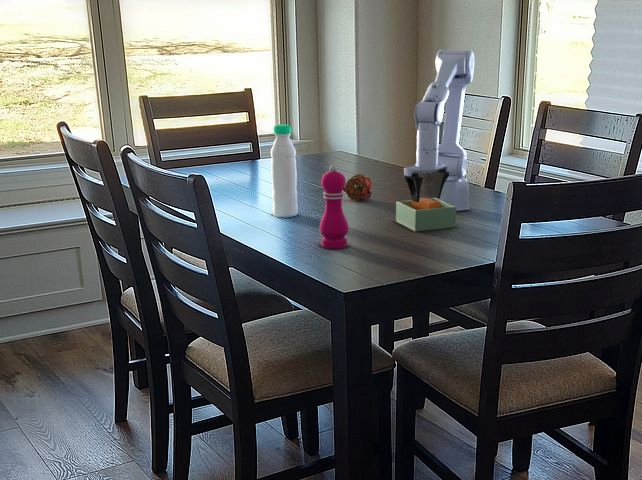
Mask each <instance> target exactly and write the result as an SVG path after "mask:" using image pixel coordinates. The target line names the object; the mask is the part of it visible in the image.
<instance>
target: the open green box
mask: <svg viewBox="0 0 642 480" xmlns="http://www.w3.org/2000/svg"><path fill="white" fill-rule="evenodd" d="M428 199H431V200H435V201H439V202H440V208H434V209H424V210H415V209H413V208H412V199H407V200H398V201H397V200H396V202H395V222H396V223H397V224H399V225H401V226H404V227H406V228H407V229H409V230H412V231H413V232H425V231H433V230H434V231H435V230H443V229H452V228H456V227H457V225H456V224H457V211H456V207H455V206H453V205H451V204H449V203H446V202H444V201H442V200H439V199H437V198H434V197H429V198H428Z"/></svg>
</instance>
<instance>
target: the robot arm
mask: <svg viewBox="0 0 642 480" xmlns="http://www.w3.org/2000/svg"><path fill="white" fill-rule="evenodd" d="M474 69H475V54H474V51H473V50H472V49H468V50H462V49H461V50H458V49H455V50H453V49H450V50H449V49H439V50H438V51H437V53H436V56H435V70H436V77H435V80H434V81H433V82H431V83H430V84H429V85H428V87H427V89H426V91H425V94H424V96H423V98H422V100H421V101H419V102H418V103H416V104H415V107H414V112H413V119H414V123H415V124H414V125H415V131H416V132H417V133H416V163H414V165H410V166H408V167H407V166H406V167H404V168H403V178H404V180H405V182H406V184H407V187H408V189H409V192H410V198H411V200H412V201H413V202H419V199H420V198H421V189H422V188H421V187H422V183H423V181H424V177H422V176H420V175H422V174H429V173H430V176H431V184H432V198H437V199H439V200H442V201H444V202H446V203H449V204H451V205H453V206H455V207H456V212H463V211H469V210H470V207H469V193H470V192H469V189H470V187H469V182H468V180H467V179H466V178H465V177H466V174H467V170H468V169H467V168H468V159H467V158H468V154H467V152H466V150H465V149H464V148H463V147H462V146H461V145H460V135H461V134H460V133H461V127H462V126H461V125H462V117H463V110H464V100H465V94H466V93H465V92H466V89H467V85H470V84H471V83H472V82H473V77H474V72H475V71H474ZM445 103H446V105H445ZM444 107H445V108H444ZM444 112H445V113H444ZM443 117H444V120H443ZM442 121H444V123H443V130H442V139H441V143H440V125H441V124H442ZM439 143H440V144H439Z"/></svg>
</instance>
